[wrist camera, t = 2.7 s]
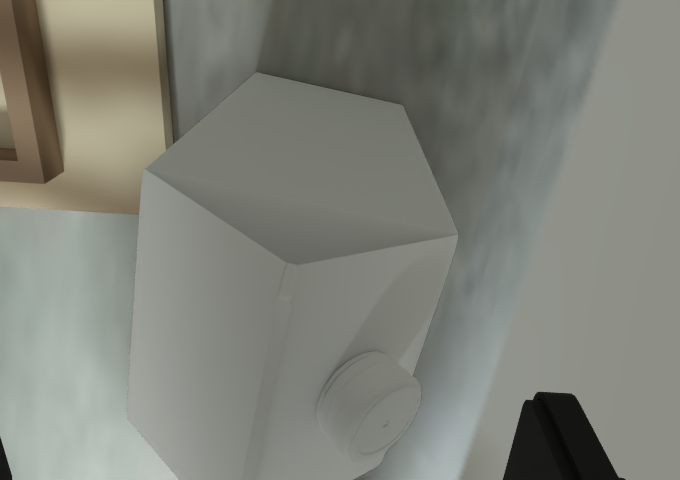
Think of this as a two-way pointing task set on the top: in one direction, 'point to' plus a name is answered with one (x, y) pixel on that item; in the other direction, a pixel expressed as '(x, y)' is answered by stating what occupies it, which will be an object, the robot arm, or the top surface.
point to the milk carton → (285, 286)
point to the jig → (81, 102)
